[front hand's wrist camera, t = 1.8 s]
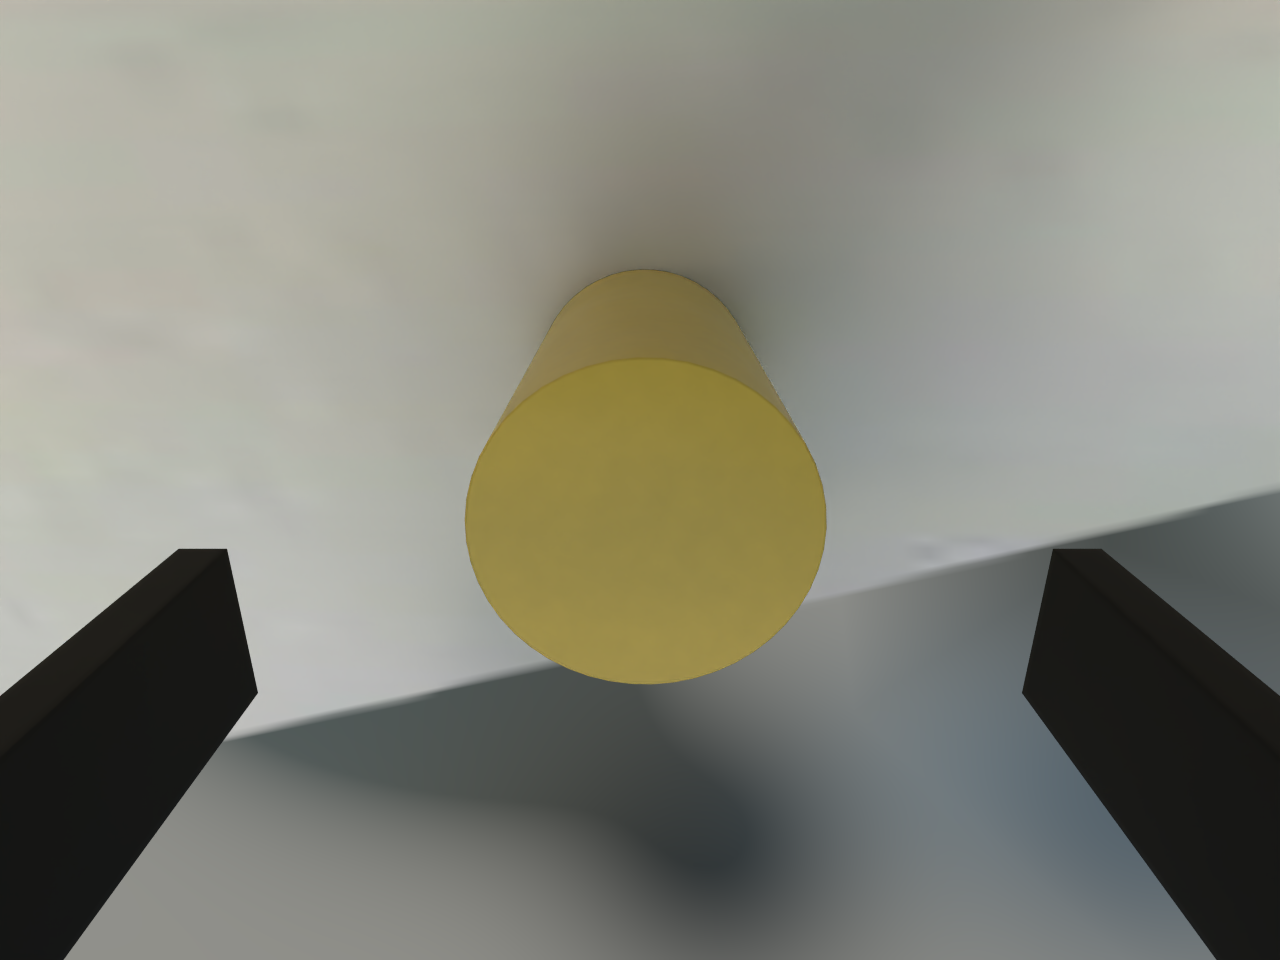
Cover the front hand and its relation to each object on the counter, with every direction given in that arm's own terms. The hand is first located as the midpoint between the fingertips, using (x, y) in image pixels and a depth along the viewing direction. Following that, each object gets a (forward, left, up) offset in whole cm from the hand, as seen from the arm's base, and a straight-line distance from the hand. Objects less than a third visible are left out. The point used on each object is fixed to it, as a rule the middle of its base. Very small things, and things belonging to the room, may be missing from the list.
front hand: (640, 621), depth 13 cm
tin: (0, 0, -15) cm, 15 cm away
